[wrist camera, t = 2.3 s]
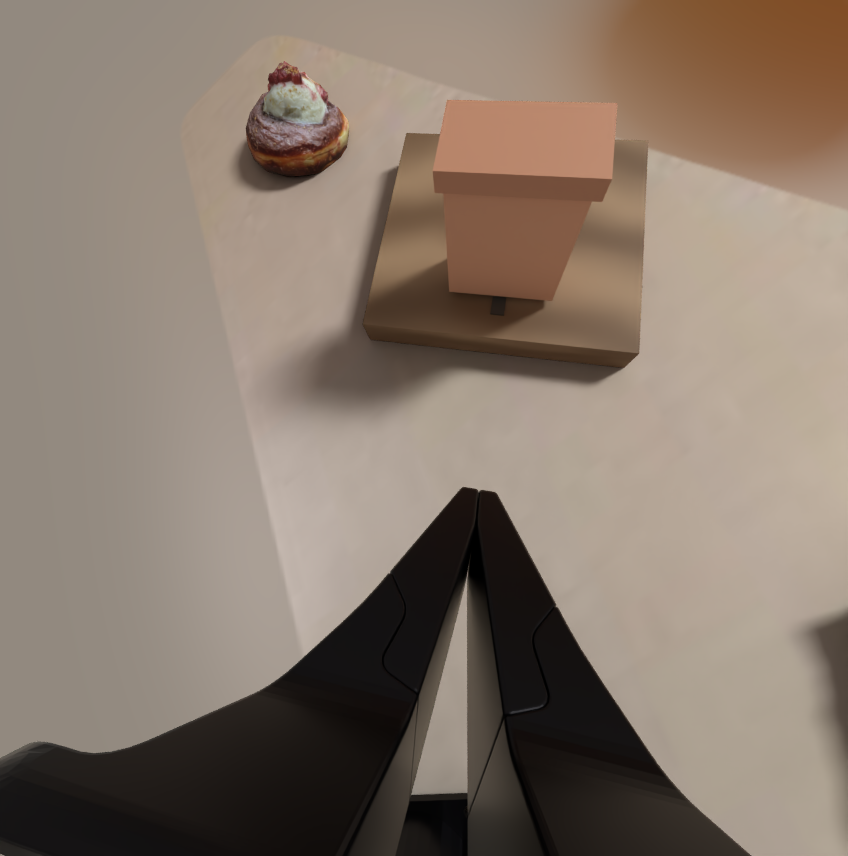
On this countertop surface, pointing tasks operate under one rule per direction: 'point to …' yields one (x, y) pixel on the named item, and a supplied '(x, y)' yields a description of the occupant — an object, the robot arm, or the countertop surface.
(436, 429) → the countertop surface
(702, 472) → the countertop surface
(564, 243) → the handle
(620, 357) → the fader track
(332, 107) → the pastry
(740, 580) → the countertop surface
